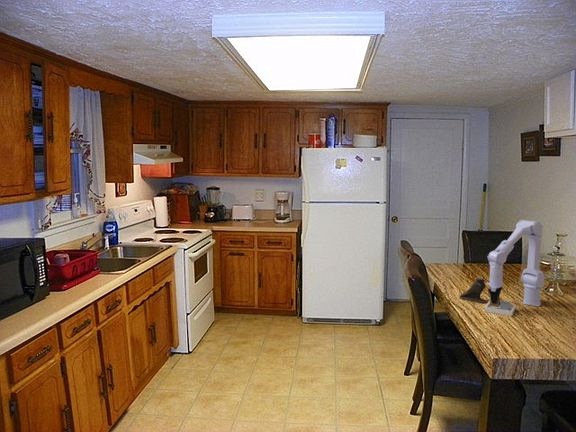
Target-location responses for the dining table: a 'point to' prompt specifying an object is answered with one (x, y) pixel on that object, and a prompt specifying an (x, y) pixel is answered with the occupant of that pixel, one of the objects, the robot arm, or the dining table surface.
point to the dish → (499, 310)
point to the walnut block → (496, 303)
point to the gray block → (505, 305)
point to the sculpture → (475, 292)
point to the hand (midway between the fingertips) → (494, 302)
